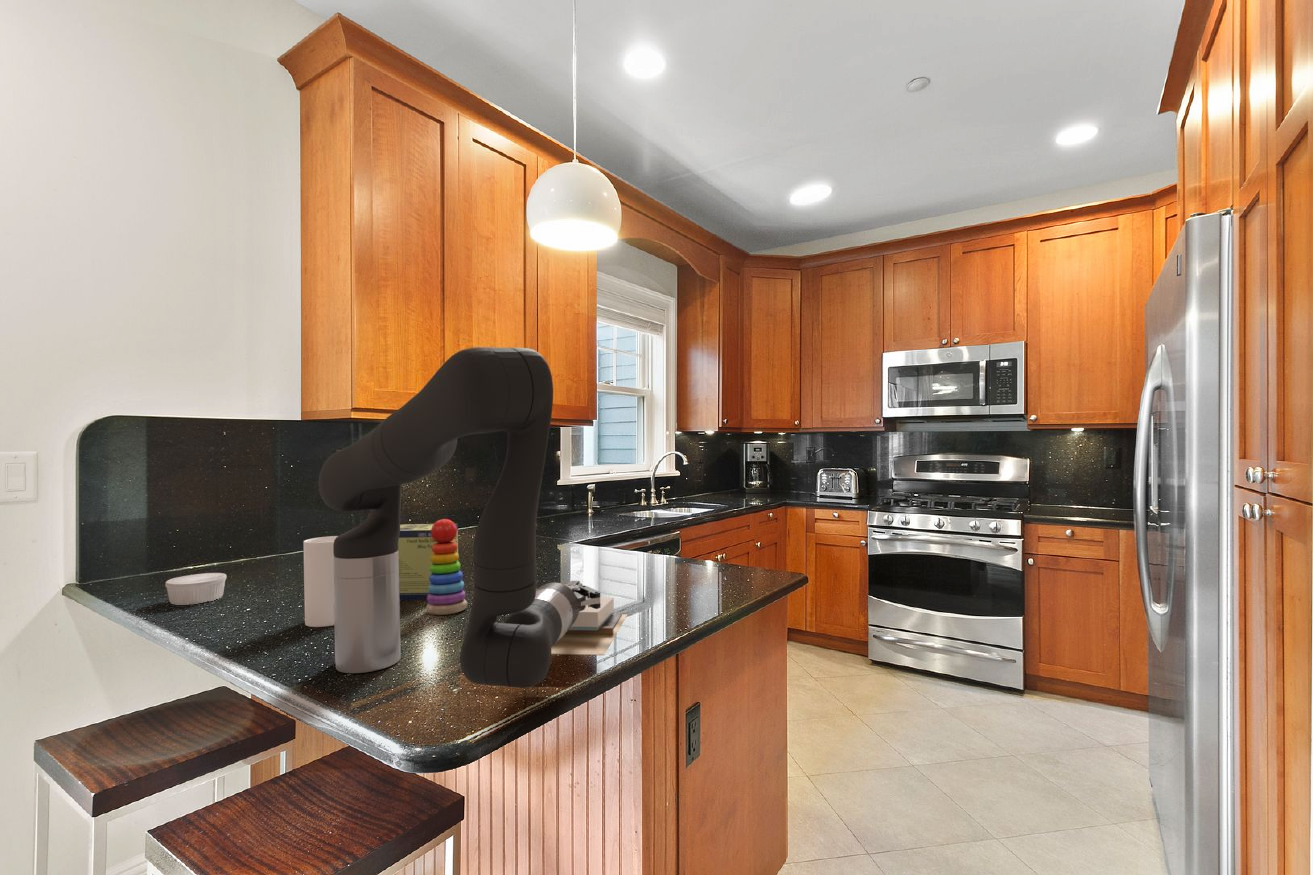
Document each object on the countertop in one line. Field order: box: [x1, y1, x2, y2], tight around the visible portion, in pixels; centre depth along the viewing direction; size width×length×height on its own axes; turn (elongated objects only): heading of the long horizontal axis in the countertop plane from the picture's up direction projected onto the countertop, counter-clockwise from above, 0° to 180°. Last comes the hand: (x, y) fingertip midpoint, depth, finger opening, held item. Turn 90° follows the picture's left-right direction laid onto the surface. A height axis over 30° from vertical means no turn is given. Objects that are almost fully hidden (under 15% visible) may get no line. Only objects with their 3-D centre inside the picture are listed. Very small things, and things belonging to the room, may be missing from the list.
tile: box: [568, 597, 615, 630], centre depth 109 cm, size 3×9×14 cm
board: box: [551, 612, 628, 656], centre depth 106 cm, size 22×14×2 cm, turn 173°
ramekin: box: [165, 572, 228, 605], centre depth 139 cm, size 11×11×5 cm
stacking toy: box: [425, 518, 468, 616], centre depth 125 cm, size 8×8×19 cm
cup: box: [302, 535, 339, 628], centre depth 120 cm, size 8×8×16 cm
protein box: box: [398, 522, 459, 601], centre depth 140 cm, size 10×16×16 cm
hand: (575, 586), depth 106 cm, fingers closed
